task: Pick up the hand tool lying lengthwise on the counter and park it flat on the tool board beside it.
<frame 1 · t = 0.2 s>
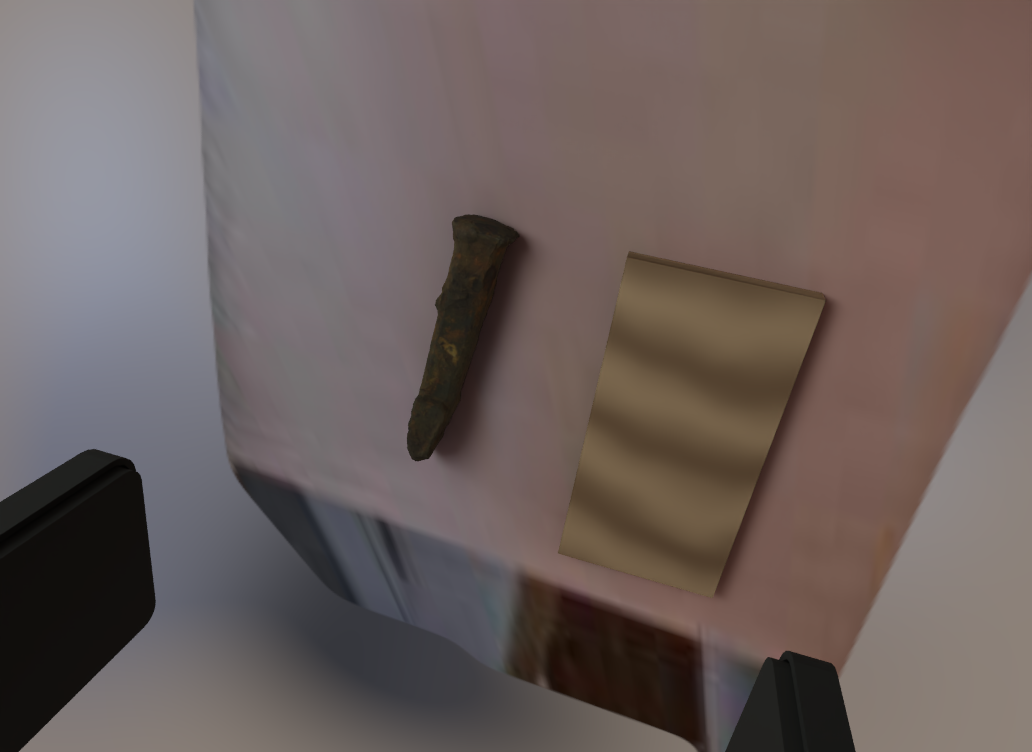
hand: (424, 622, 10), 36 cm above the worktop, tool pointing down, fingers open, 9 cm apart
hand tool: (469, 340, 49), on the worktop
tool board: (674, 433, 48), on the worktop
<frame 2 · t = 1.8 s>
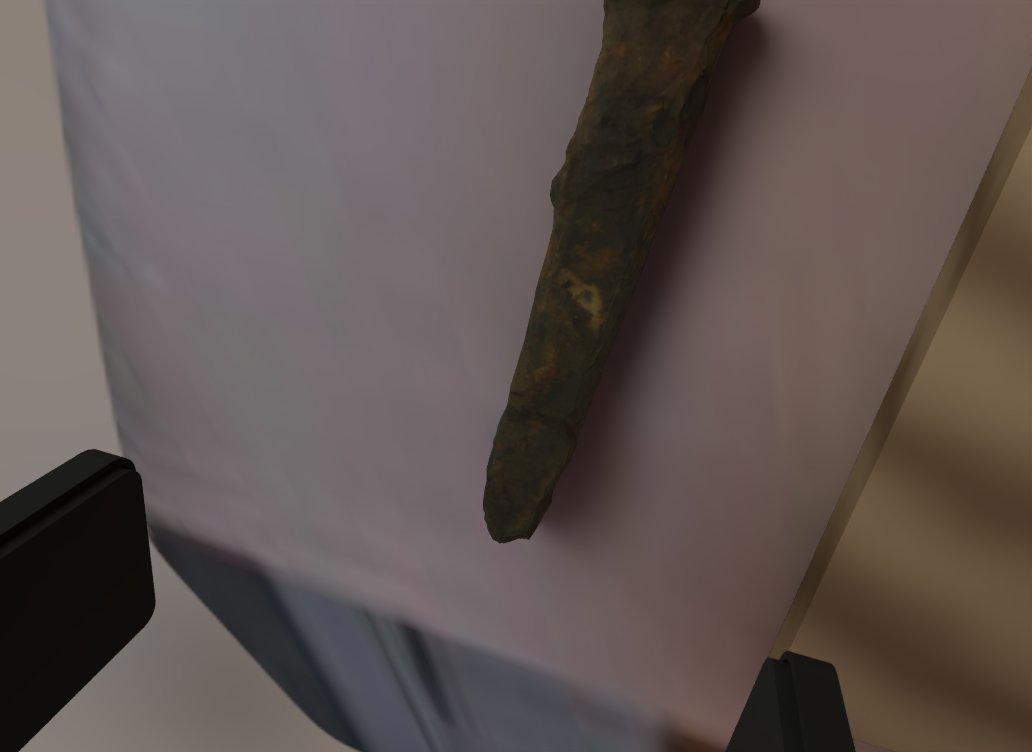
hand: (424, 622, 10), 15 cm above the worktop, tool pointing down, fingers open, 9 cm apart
hand tool: (606, 286, 23), on the worktop
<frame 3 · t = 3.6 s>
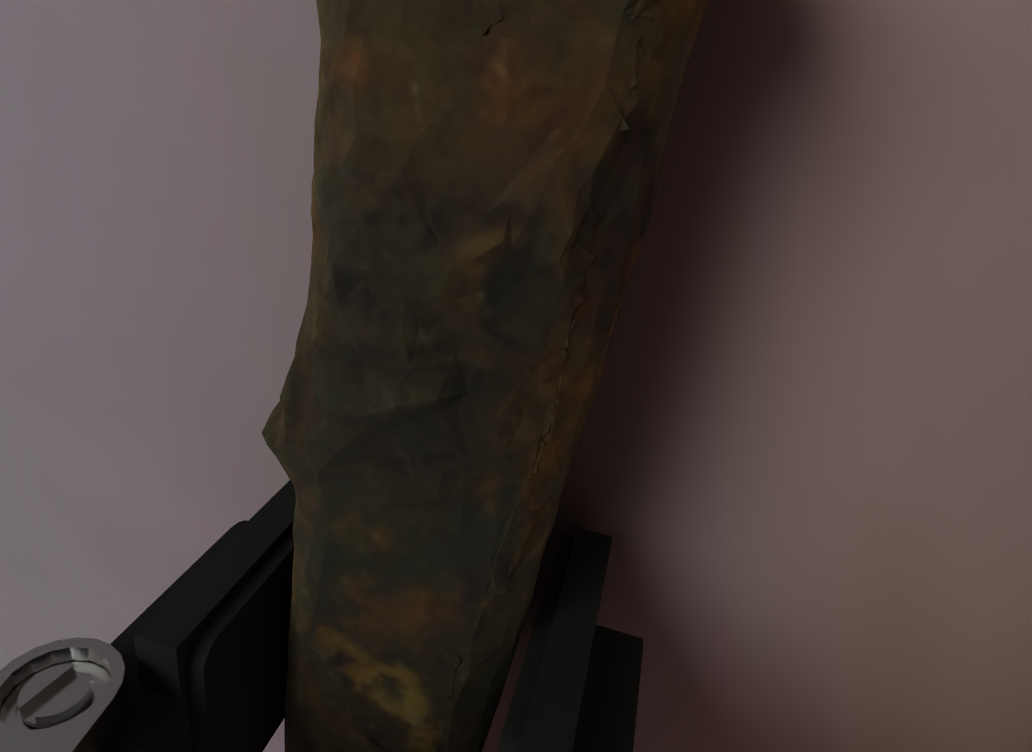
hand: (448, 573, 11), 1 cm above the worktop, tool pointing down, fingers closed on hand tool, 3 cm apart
hand tool: (493, 545, 11), on the worktop, touching gripper
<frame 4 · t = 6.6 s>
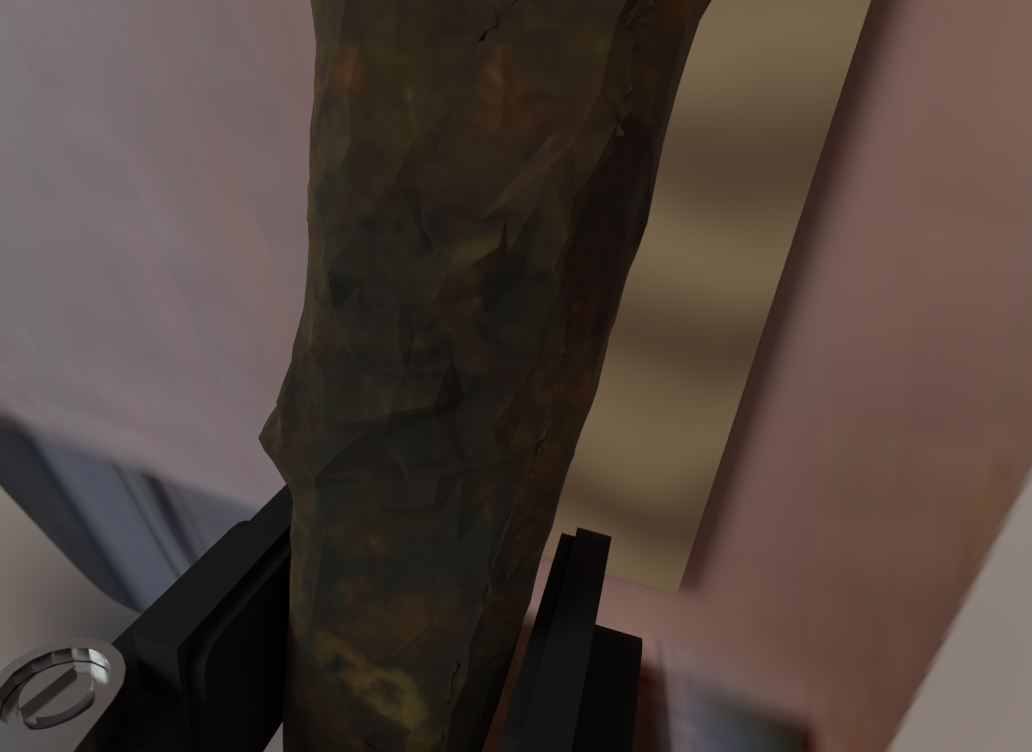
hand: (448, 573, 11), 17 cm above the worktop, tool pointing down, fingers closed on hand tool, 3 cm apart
hand tool: (492, 548, 11), point 16 cm above the worktop, touching gripper
tool board: (598, 288, 26), on the worktop
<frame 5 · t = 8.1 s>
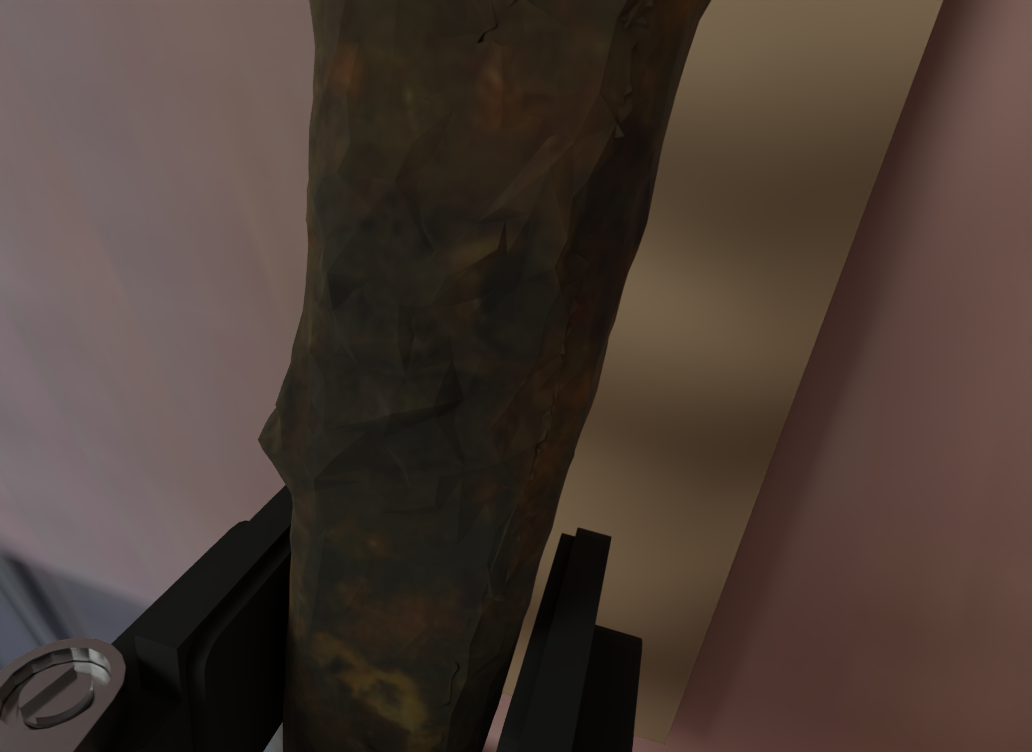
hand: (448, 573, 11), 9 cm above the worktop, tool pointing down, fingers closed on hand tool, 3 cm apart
hand tool: (492, 549, 11), point 8 cm above the worktop, touching gripper
tool board: (557, 351, 19), on the worktop
when the fingers open (3 cm above the worktop, at t = 9.5 s): hand tool drops 1 cm, resting on tool board.
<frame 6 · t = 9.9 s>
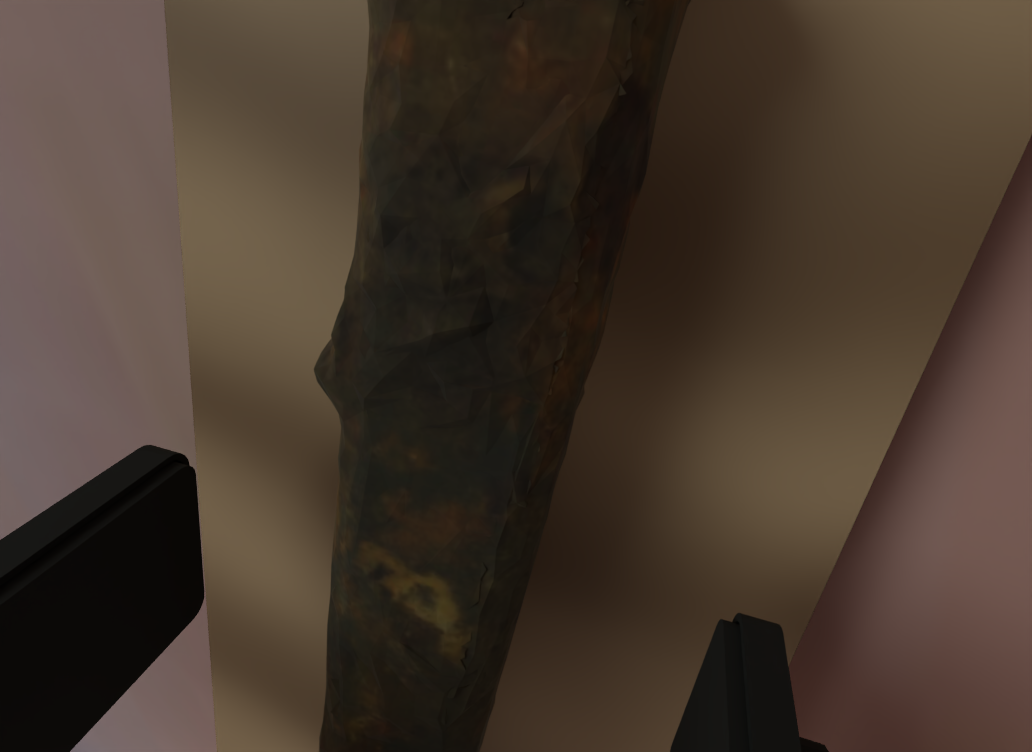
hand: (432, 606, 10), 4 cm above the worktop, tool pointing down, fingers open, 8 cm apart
hand tool: (508, 493, 12), point 1 cm above the worktop, touching tool board
tool board: (504, 463, 14), on the worktop
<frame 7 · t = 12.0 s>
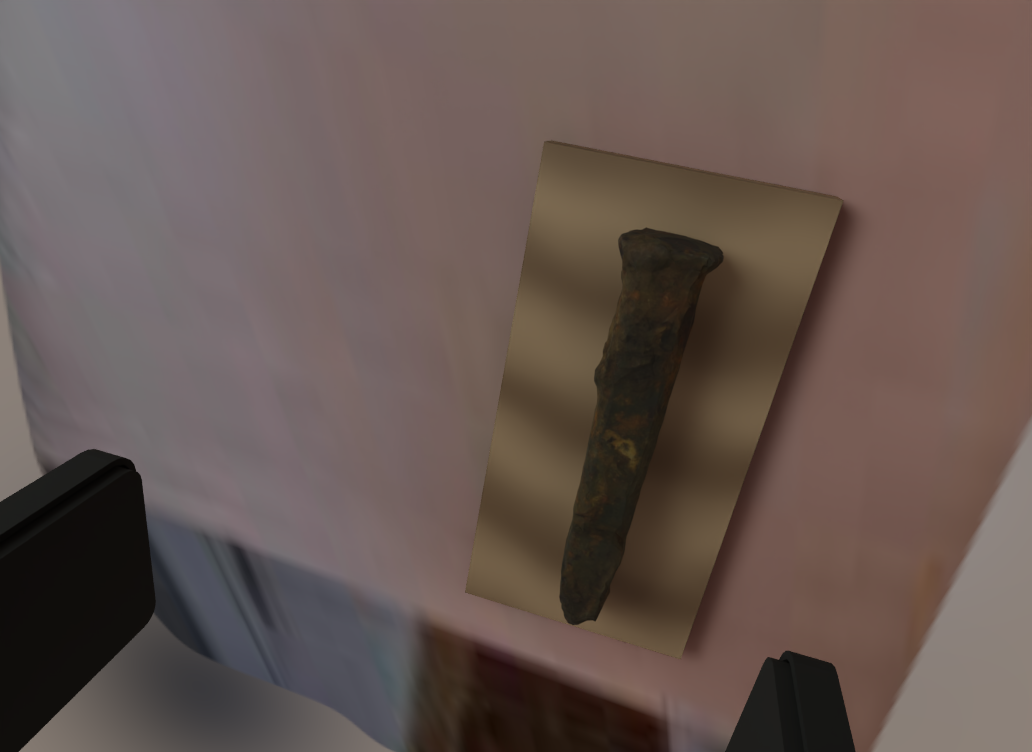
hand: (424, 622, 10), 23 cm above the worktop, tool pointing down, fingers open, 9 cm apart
hand tool: (635, 427, 32), point 1 cm above the worktop, touching tool board
tool board: (623, 418, 33), on the worktop
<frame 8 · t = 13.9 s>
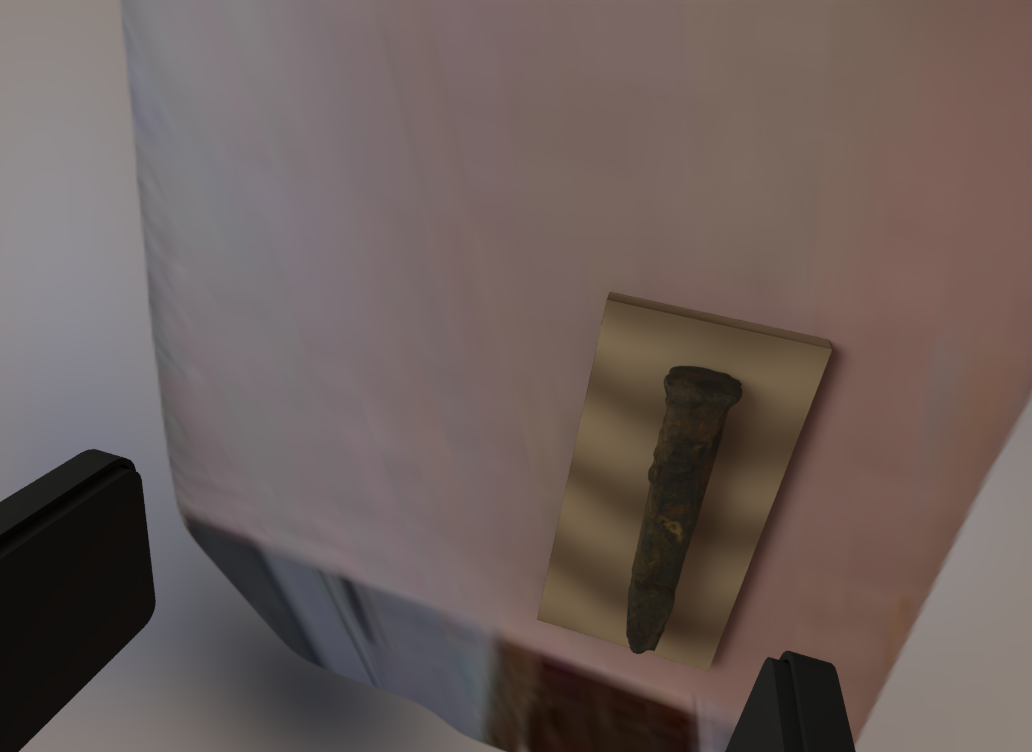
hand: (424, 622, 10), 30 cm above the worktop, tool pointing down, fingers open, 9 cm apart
hand tool: (678, 502, 41), point 1 cm above the worktop, touching tool board
tool board: (663, 491, 43), on the worktop
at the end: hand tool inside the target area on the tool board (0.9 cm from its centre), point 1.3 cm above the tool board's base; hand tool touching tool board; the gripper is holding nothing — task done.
